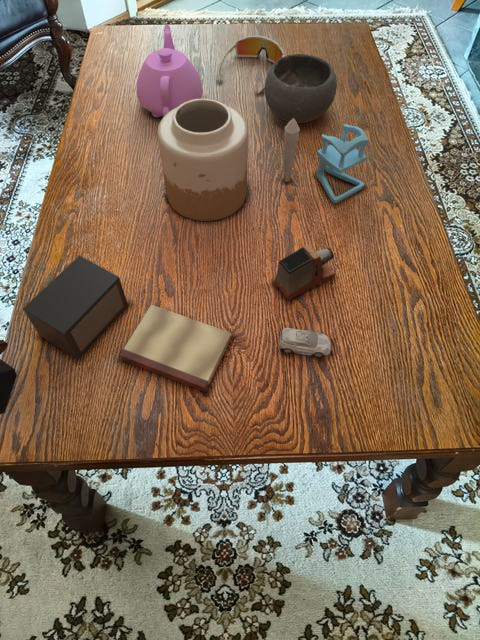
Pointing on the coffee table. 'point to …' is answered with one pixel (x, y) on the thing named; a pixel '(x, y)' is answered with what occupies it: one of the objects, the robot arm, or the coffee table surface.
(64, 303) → the block
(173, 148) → the vase
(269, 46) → the sunglasses
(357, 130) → the blue-grey angular frame piece
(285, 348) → the toy car
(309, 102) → the bowl
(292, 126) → the grey pointed post
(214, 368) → the notebook
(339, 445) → the coffee table surface
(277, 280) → the electronic device
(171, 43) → the teapot
